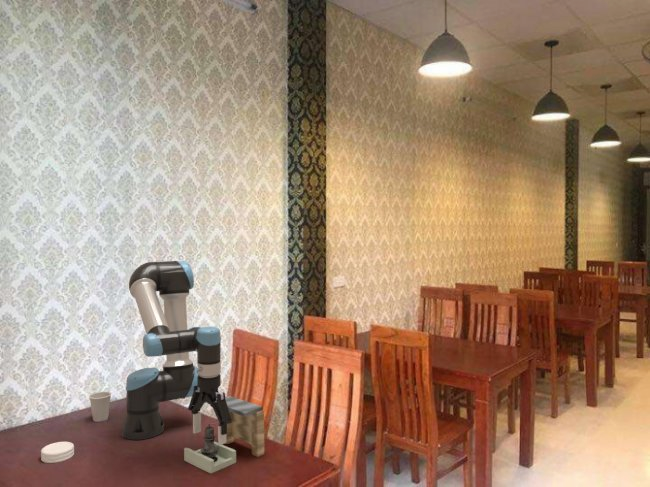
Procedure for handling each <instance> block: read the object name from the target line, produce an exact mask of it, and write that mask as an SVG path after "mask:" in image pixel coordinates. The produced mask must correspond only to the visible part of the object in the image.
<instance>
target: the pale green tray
mask: <svg viewBox="0 0 650 487" xmlns="http://www.w3.org/2000/svg"><path fill="white" fill-rule="evenodd" d="M214 444H215V446H217V447H218V448H219V449H218V452H217V455H216V457H217V458H218V460H217V461H216V462H214V460H213V459H211V458H209V457H207V456H204V455H202V452H201V448H199V449H197V450H193V449H191V448H189V447H184V448H183V452H184V453H183V455H184V458H183V459H184V462H187V464H191V465H192V466H194V467H196V468H199V469H200V470H203V471H204V472H207V473H208V474H211V475H212V474H213V473H216V472H218V471H221V470H222V469H225V468H227V467H229V466H231V465H234V464H236V463H237V450H235V449H234V448H231V447H228V446H226V445H224V444H222V445H218V442H217V441H215V440H214Z"/></svg>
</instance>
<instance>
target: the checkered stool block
mask: <svg viewBox="0 0 650 487" xmlns="http://www.w3.org/2000/svg"><path fill="white" fill-rule="evenodd" d="M225 399H226V403H227V406H228V410H229V413H230V417H231V420H232V422H231V423H229V424H227V434H226V443H225V445H229V444H231V443H233V442H234V443H235V439H237V440H239V441H241V442H244V443H246V444H247V445H251V456H252V455H253V456H255V457H261V456H263V455H265V410H264V406H262V405H259V404H256V403H253V402H249V401H246V400H243V399H240V398H238V397H237V398H236V397H234V396H231V395H228V396H225ZM216 402H217V401H216ZM227 420H228V419H227ZM222 421H223V420H222Z"/></svg>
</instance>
